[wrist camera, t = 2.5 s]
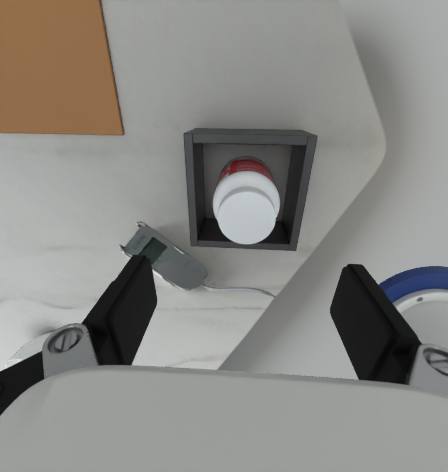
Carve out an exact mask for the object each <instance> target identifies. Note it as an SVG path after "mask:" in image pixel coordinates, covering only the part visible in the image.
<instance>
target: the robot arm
mask: <svg viewBox="0 0 448 472" xmlns="http://www.w3.org/2000/svg"><path fill="white" fill-rule="evenodd" d="M156 305H157V295H156V289H155V284H154V278H153V272H152V266H151V260H150V259H149V258H147V257H146V255H133V256H132V257H131V259H130V260H129V261H128V263H127V264H126V266H125V267H124V268H123V270H122V271H121V273H120V274H119V275H118V277H117V278H116V279H115V281H113V282H112V283H111V284H110V285H109V286H108V288H107V289H106V291H105V292H104V293H103V295H102V296H101V297H100V299H99V300H98V302H97V303H96V304H95V306H94V307H93V308H92V310H91V311H90V313H89V314H88V315H87V317H86V318H85V319H84V321H83V322H82V323H81V324H79V323H74V324H68V325H65V326H63V327H61V328H59V329H57V330H55V331H54V332H53V333H51V334H50V335H49V336H48V338H47V339H46V340H45V342H44V344H43V347H42V351H40V352H38V353H36V354H34V355H32V356H30V357H28V358H26V359H24V360H22V361H20V362H18V363H16V364H14V365H12V366H10V367H8V368H6V369H4V370H2V371H0V472H448V290H446V289H425V290H420V291H416V292H413V293H410V294H407V295H405V296H403V297H401V298H399V299H398V300H396V301H395V302H393V303H392V302H391V301H390V300H389V298H388V297H387V296H386V294H385V293H384V292H383V291H382V289H381V288H380V287H379V285H378V284H377V283H376V281H375V280H374V279H373V278H372V276H371V275H370V274H369V272H368V271H367V270H366V269H365V267H364V266H363V265H359V264H348V265H347V266H346V267H344V268H343V269H342V272H341V276H340V279H339V282H338V285H337V288H336V291H335V294H334V298H333V301H332V304H331V307H330V313H331V316H332V319H333V321H334V323H335V326H336V328H337V330H338V333H339V335H340V337H341V340H342V342H343V344H344V347H345V349H346V351H347V354H348V356H349V358H350V360H351V363H352V365H353V367H354V370H355V372H356V374H357V376H358V379H359V380H354V379H342V378H328V377H313V376H299V375H284V374H270V373H255V372H239V371H224V370H208V369H191V368H174V367H157V366H133V365H132V362H133V360H134V358H135V355H136V353H137V350H138V348H139V346H140V343H141V341H142V339H143V336H144V334H145V331H146V329H147V327H148V324H149V322H150V319H151V317H152V315H153V312H154V310H155V308H156Z"/></svg>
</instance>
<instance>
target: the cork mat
mask: <svg viewBox="0 0 448 472" xmlns="http://www.w3.org/2000/svg"><path fill="white" fill-rule="evenodd" d="M0 133H50V134H101V135H124V131H123V125H122V119H121V114H120V108H119V103H118V97H117V91H116V86H115V80H114V74H113V69H112V63H111V57H110V52H109V46H108V40H107V35H106V29H105V23H104V18H103V12H102V6H101V1H100V0H0Z"/></svg>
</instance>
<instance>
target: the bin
mask: <svg viewBox="0 0 448 472" xmlns="http://www.w3.org/2000/svg"><path fill="white" fill-rule="evenodd" d="M316 142H317V136H316V135H314V134H311V133H308V132H305V131H303V130H265V129H209V128H203V129H202V128H195V129H193V130H191V131H188V132H186V133H184V149H185V164H186V179H187V195H188V210H189V225H190V241H191V246H200V247H221V248H243V249H265V250H286V251H296V249H297V243H298V238H299V233H300V227H301V222H302V217H303V211H304V206H305V201H306V195H307V190H308V184H309V179H310V174H311V168H312V163H313V158H314V152H315V147H316ZM203 143H214V144H261V145H293V146H292V153H291V160H290V167H289V174H288V181H287V188H286V195H285V202H284V209H283V216H282V221H276V222H275V226H274V228H273V230H272V232H271V233H270V234H269V235H268V236H267V237H266V238H265V239H263V240H262V241H260V242H257V243H254V244H239V243H236V242H234V241H232V240H230V239H228V238H227V237H226V236H225V235H224V234H223V233H222V231H221V229H220V227H219V224H218V221H217V219H213V218H205V198H204V164H203Z"/></svg>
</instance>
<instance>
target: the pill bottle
mask: <svg viewBox="0 0 448 472" xmlns="http://www.w3.org/2000/svg"><path fill="white" fill-rule="evenodd" d="M279 208H280V198H279V193H278V190H277V188H276V186H275V183H274V181H273V179H272V176H271V174H270V171H269V169H268V168H267V166H266V165H265V164H264V163H263V162H262V161H261V160H259V159H257V158H255V157H251V156H242V157H237V158H235V159H233V160H231V161H230V162H229V163H228V164H227V165H226V166H225V167H224V169H223V170H222V172H221V175H220V178H219V181H218V184H217V187H216V190H215V193H214V198H213V211H214V214H215V217H216V219H217V221H218V224H219V227H220V229H221V231H222V233H223V234H224V235H225V236H226V237H227V238H228V239H230V240H232V241H234V242H236V243H239V244H254V243H257V242H260V241H262V240H263V239H265V238H266V237H267V236H268V235H269V234H270V233H271V232H272V230H273V228H274V226H275V222H276V217H277V215H278V212H279Z"/></svg>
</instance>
